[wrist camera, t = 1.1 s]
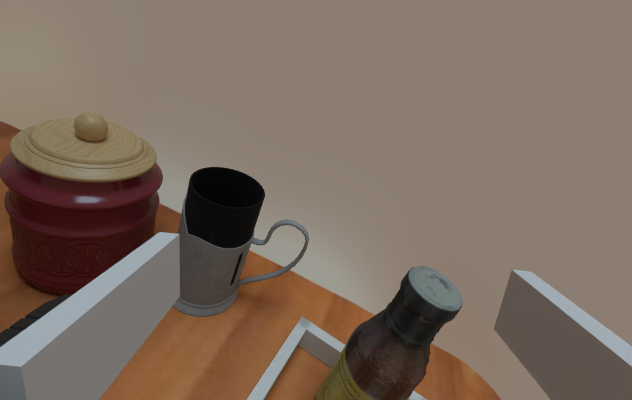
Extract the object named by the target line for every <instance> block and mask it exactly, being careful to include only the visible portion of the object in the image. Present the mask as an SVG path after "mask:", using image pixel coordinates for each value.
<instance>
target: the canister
mask: <svg viewBox="0 0 632 400" xmlns="http://www.w3.org/2000/svg"><path fill="white" fill-rule="evenodd" d="M10 150H11V153H10V154H9V155H7V156H6V157H5V159H4V160H3V161H2V163H1V166H0V176H1V178H2V180H3V182H4V183H5V184H6V186H7V187H8V188H9V189H8V191H7V193H6V196H5V208H6V210H7V212H8V214H9V217H10V224H11V231H12V237H13V244H12V254H13V260H14V263H15V265H16V267H17V269H18V270H19V271H20V274H21V275H22V277H23V278H24V279H25V280H26V281H27V282H28V283H29V284H31V285H32V286H34V287H36V288H38V289H40V290H43V291H46V292H49V293H53V294H59V295H65V294H75V293H76V292H77V291H79V290H80V289H82V288H83V287H84V286H86V285H87V284H89V283H90V282H91V281H93V280H94V279H95V278H97V277H98V276H100V275H101V274H102V273H104V272H105V271H107V270H108V269H109V268H111V267H112V266H113V265H115V264H116V263H118V262H119V261H120V260H122V259H123V258H125V257H126V256H127V255H129V254H130V253H131V252H133V251H134V250H136V249H137V248H138V247H140V246H141V245H143V244H144V243H145V242H147V241H148V240H150V239H151V238H152V237H154V226H155V219H156V211H157V209H158V207H159V196H158V193H157V190H158V189H159V188H160V186H161V184H162V180H163V175H162V171H161V169H160V167H159V166H158V165H157V163H156V152H155V150H154V149H153V147H152V146H151V145H150V144H149V143H147V142H146V141H145V140H143V139H142V138H140V137H138V136H137V135H136V134H134V133H133V132H131V131H130V130H128V129H126V128H124V127H121V126H119V125H116V124H113V123H109V122H106V121H105V119H104V118H103V117H101V116H100V115H98V114H95V113H83V114H80V115H79V116H78V117H77V118H63V119H54V120H49V121H46V122H43V123H41V124H39V125H36V126H33V127H30V128H27V129H25V130H23V131H21V132H19V133H18V134H16V135H15V136H14V137H13V139H12V140H11V143H10Z"/></svg>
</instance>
